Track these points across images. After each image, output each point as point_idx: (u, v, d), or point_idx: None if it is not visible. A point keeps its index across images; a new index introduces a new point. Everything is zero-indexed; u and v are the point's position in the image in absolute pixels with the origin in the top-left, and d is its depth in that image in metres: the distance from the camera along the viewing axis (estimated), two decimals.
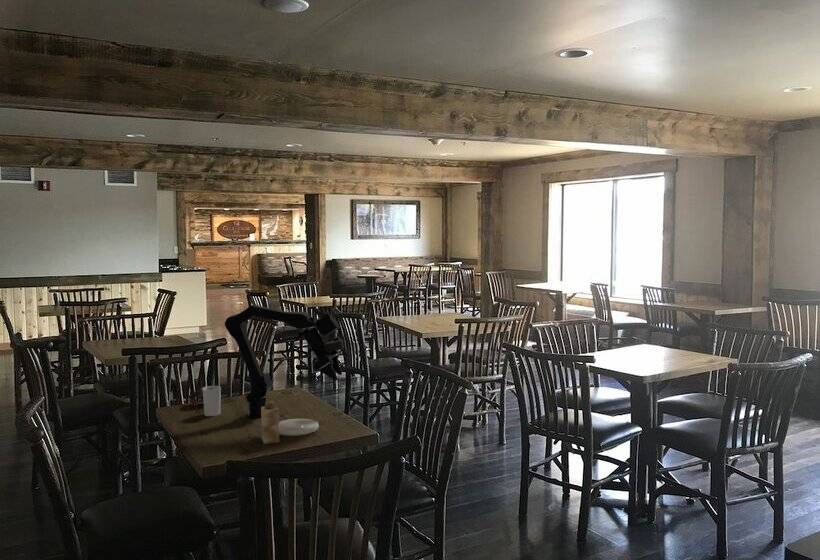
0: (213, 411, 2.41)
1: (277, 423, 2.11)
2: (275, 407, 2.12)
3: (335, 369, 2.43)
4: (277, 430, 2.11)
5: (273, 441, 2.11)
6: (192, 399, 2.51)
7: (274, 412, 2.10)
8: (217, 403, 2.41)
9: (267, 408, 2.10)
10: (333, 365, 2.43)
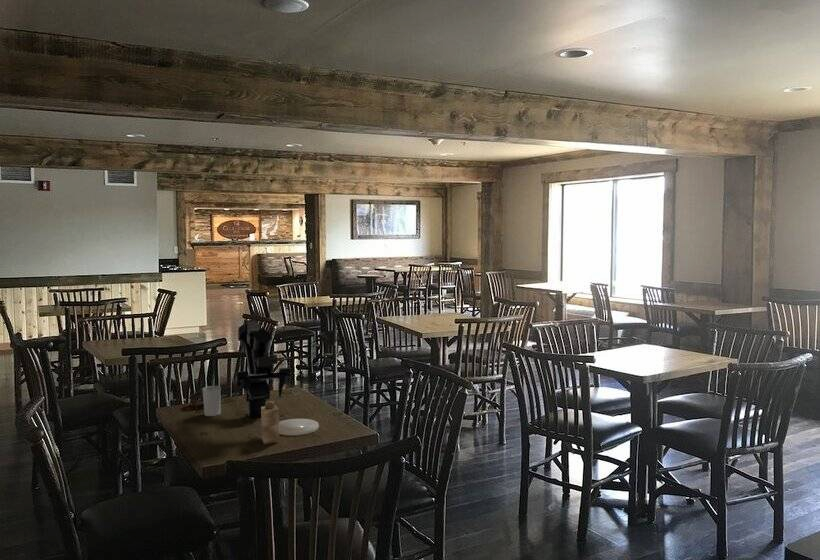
0: (213, 411, 2.41)
1: (277, 423, 2.11)
2: (275, 407, 2.12)
3: None
4: (277, 430, 2.11)
5: (273, 441, 2.11)
6: (193, 399, 2.51)
7: (274, 412, 2.10)
8: (217, 403, 2.41)
9: (267, 408, 2.10)
10: None
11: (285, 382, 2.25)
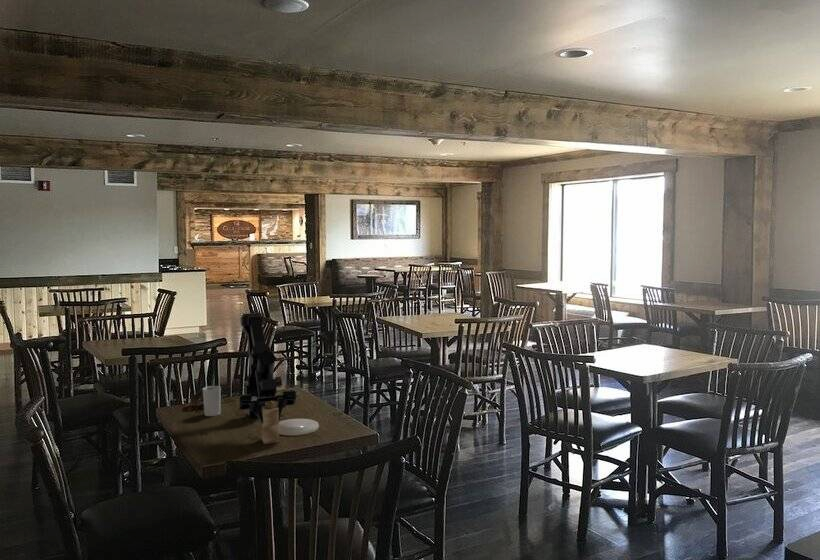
0: (213, 411, 2.41)
1: (277, 423, 2.11)
2: (275, 407, 2.12)
3: None
4: (277, 430, 2.11)
5: (273, 441, 2.11)
6: (194, 400, 2.50)
7: (274, 412, 2.10)
8: (217, 403, 2.41)
9: (267, 408, 2.10)
10: None
11: (284, 405, 2.18)
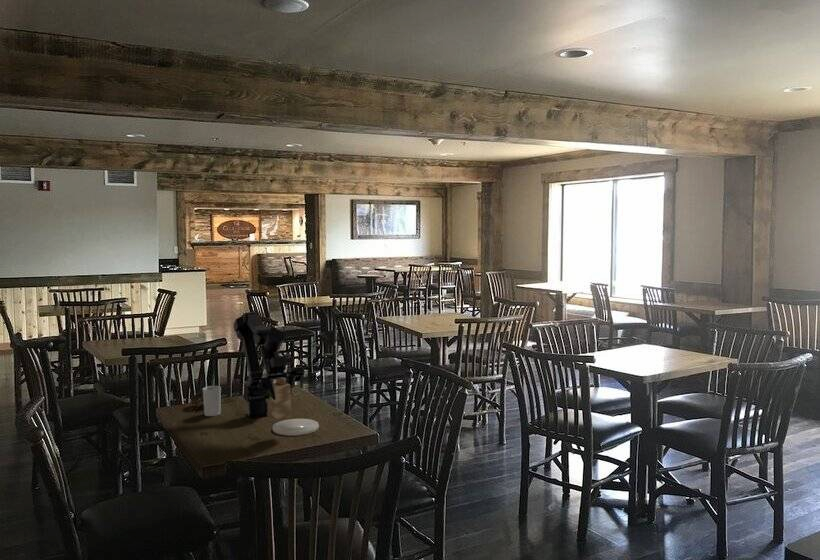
0: (213, 411, 2.41)
1: (289, 399, 2.15)
2: (286, 383, 2.17)
3: None
4: (289, 405, 2.15)
5: (285, 416, 2.15)
6: (195, 400, 2.50)
7: (286, 388, 2.14)
8: (217, 403, 2.41)
9: (279, 384, 2.14)
10: None
11: (292, 382, 2.22)
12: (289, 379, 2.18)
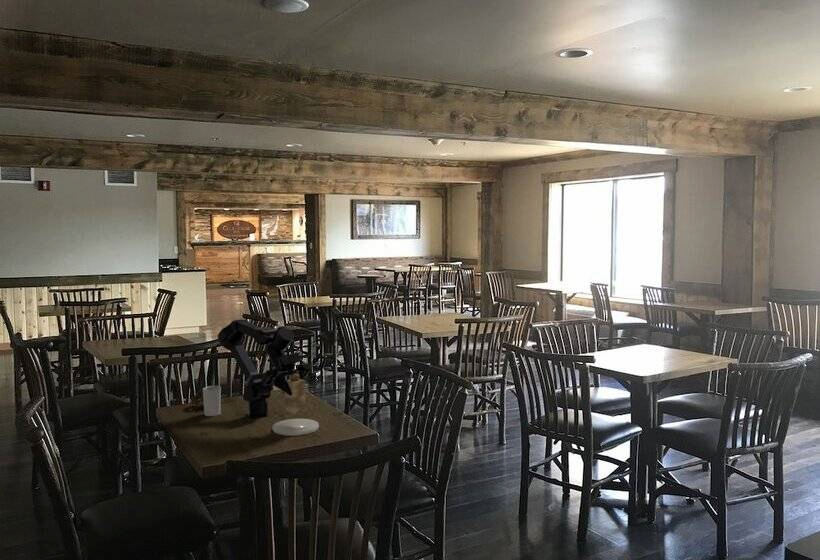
0: (213, 411, 2.41)
1: (304, 393, 2.24)
2: (299, 379, 2.25)
3: None
4: (304, 400, 2.24)
5: (301, 411, 2.24)
6: (195, 400, 2.49)
7: (302, 384, 2.23)
8: (217, 403, 2.41)
9: (294, 380, 2.23)
10: None
11: None
12: (300, 375, 2.27)
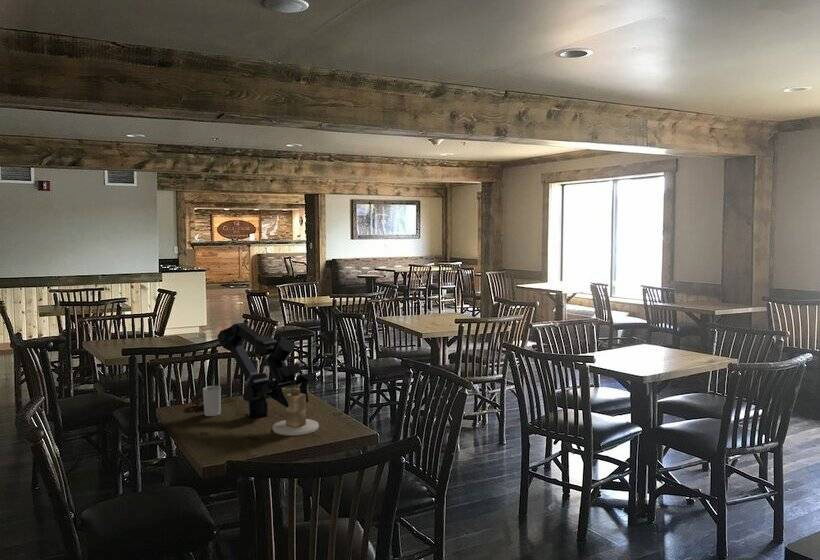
0: (213, 411, 2.41)
1: (304, 407, 2.25)
2: (300, 393, 2.26)
3: None
4: (304, 414, 2.25)
5: (301, 425, 2.24)
6: (196, 401, 2.49)
7: (302, 398, 2.24)
8: (217, 403, 2.41)
9: (295, 394, 2.23)
10: (301, 392, 2.29)
11: None
12: (304, 385, 2.29)
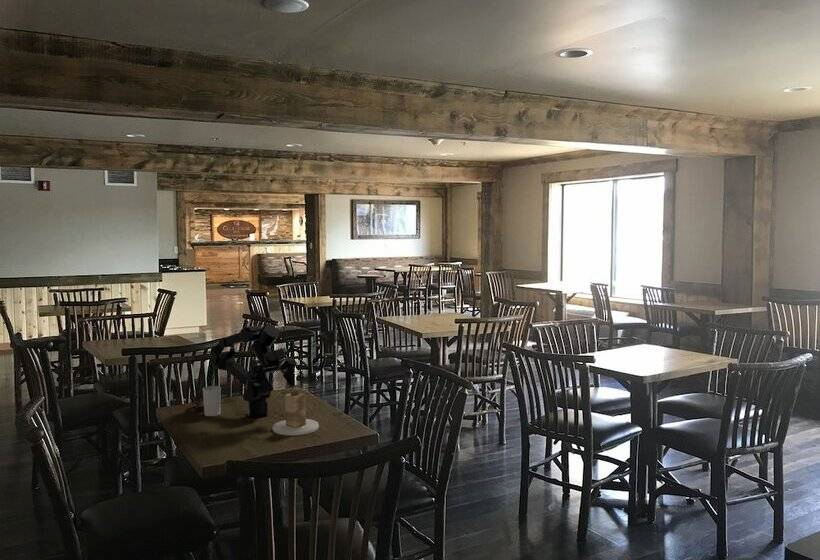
0: (213, 411, 2.41)
1: (304, 407, 2.25)
2: None
3: (288, 381, 2.34)
4: (304, 414, 2.25)
5: (301, 425, 2.24)
6: (197, 401, 2.48)
7: (302, 398, 2.24)
8: (217, 403, 2.41)
9: (295, 394, 2.23)
10: (287, 377, 2.35)
11: None
12: (290, 370, 2.35)
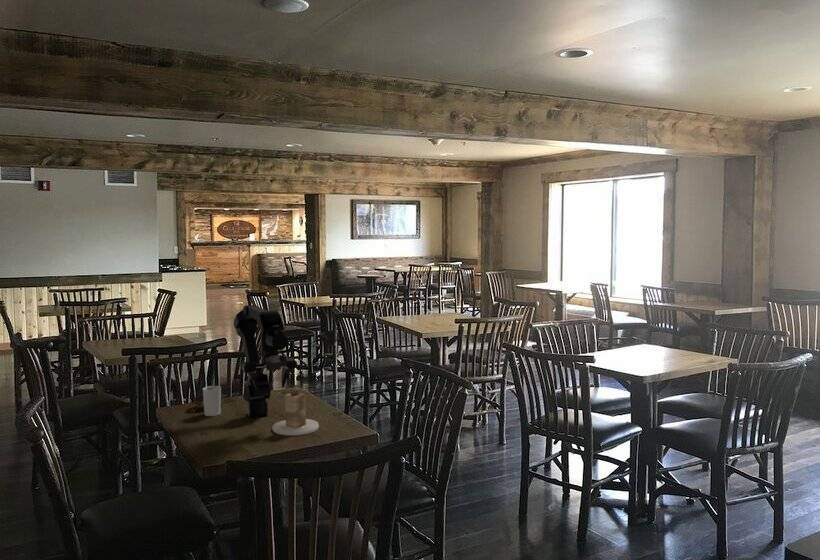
0: (213, 411, 2.41)
1: (304, 407, 2.25)
2: None
3: (282, 379, 2.31)
4: (304, 414, 2.25)
5: (301, 425, 2.24)
6: (198, 401, 2.48)
7: (302, 398, 2.24)
8: (217, 403, 2.41)
9: (295, 394, 2.23)
10: (282, 375, 2.31)
11: None
12: (286, 373, 2.29)
